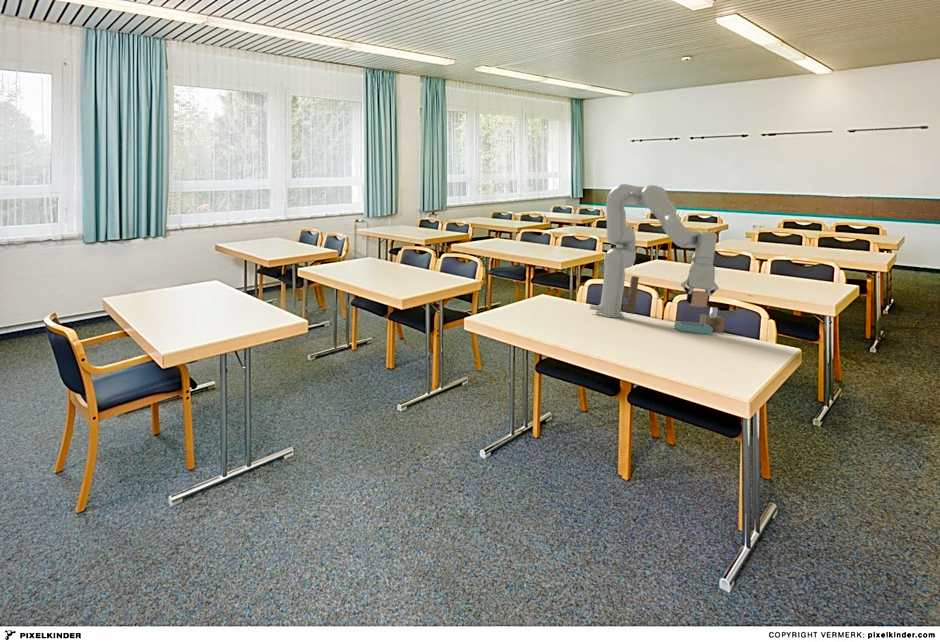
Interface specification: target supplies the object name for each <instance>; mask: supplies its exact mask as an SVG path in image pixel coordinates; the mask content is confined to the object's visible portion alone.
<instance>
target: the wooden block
mask: <svg viewBox="0 0 940 642" xmlns="http://www.w3.org/2000/svg"><path fill="white" fill-rule="evenodd" d="M639 279H640V277H639V276H636V275H632V276H631V277H630V285H629V291H628V292H627V290H626V289H625V288H624V290H623V297H622V305H621V312H624V313H630V314H635V313H636V310H637V305H636V302H637V294H638V287H639ZM624 298H627V303H624Z"/></svg>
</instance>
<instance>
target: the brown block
mask: <svg viewBox="0 0 940 642" xmlns="http://www.w3.org/2000/svg"><path fill="white" fill-rule="evenodd" d="M709 315H710V314H700V316H699V317H700V318H699V322H698V323H702V324H707V325H709V326H710V327H712V328H713V331H715V332H714V333H720V334H721V333H724V329H725V322H726V318H723V317H722V316H720V315H717V318H712V317H709Z"/></svg>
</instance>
